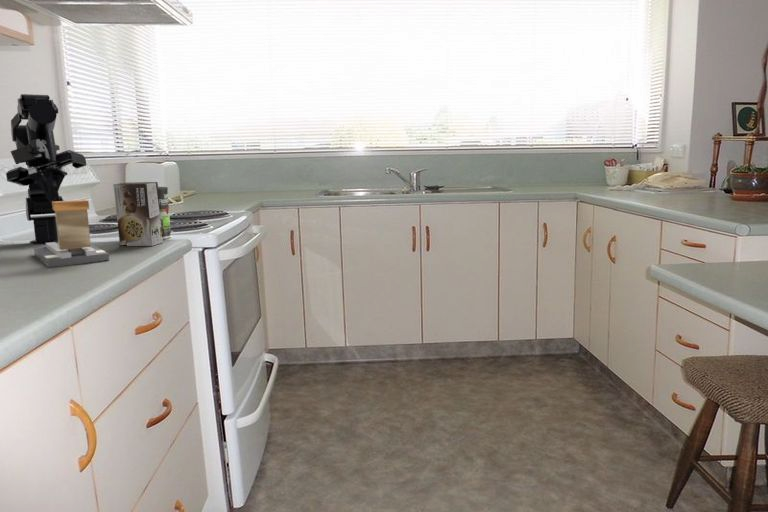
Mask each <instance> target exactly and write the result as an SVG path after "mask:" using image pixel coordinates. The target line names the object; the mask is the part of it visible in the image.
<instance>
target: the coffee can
mask: <svg viewBox="0 0 768 512" xmlns="http://www.w3.org/2000/svg"><path fill="white" fill-rule="evenodd" d="M168 190H169V189H168V186H158V193H159V205H160V216H161V228H162V239H163V240H166V239H171V238H172V234H171V233H172V232H171V222H170V221H171V219H170V218H171V217H170V208H169V207H170V205H169V196H168V195H169V194H168V193H169V192H168Z"/></svg>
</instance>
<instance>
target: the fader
mask: <svg viewBox="0 0 768 512" xmlns="http://www.w3.org/2000/svg"><path fill="white" fill-rule="evenodd" d="M52 208H53V210H54V211H55V214H54V215H55V217H56V226H57V235H58V241H57V244H58V245H59V249H60V250H65V249H68V251H69V252H70V253H71V255H72V254H81V253H83V249H82V248H85V247H91V244H92V243H91V234H90V224H89V223H90V222H89V214H88V212H89V211H88V210H89V209H90V202H89V200H87V199H79V200H76V199H75V200H64V201H56V202H52Z"/></svg>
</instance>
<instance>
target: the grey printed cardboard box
mask: <svg viewBox="0 0 768 512" xmlns="http://www.w3.org/2000/svg"><path fill="white" fill-rule="evenodd" d="M112 186H113V192H114V201H115V210H116V211H115V212H116V221H117V228H118V229H117V231H118V241H119V246H120V245H127V246H126V247H153V246H157V245H160V244H162V243H163V242H164V239H162V228H161V216H160V205H159V193H158V187H159V184H158V181H137V182H135V181H133V182H132V181H130V182H120V183H119V182H118V183H113V185H112Z"/></svg>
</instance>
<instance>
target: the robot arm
mask: <svg viewBox="0 0 768 512" xmlns="http://www.w3.org/2000/svg"><path fill="white" fill-rule="evenodd" d="M16 107H17V108H16V109H17V113H16V114H14V116H13V118H12V119H11V120H10V129H11V130H10V132H11V133H10V134H11V140H12V142H15V143H14V144H15V146H16V148H15V149H13V150H10V153H11V156H12V158H13V161H14V163H15V164H16V165H20V164H23V163H25V165H26V167H27V168H26V167H23V166H22V167H21V166H17V167H15V168H13V169H10V170H7V172H6V173H5V175H6V182H9V183H12V184H16V185H19V186H28V189H27V197H25V214H26V220H27V221H29V222H30V221H33V230H34V240H30V241H29V243H30V244H43V243H45V244H46V243H51V242H55V243H58V235H57V226H56V217H55V211H54V210H53V208H52V202H56V201H65V200H64V199H63V197H62V195H60V193H59V190H60V187H61V185H62V183H63V181H64V179H65V177H66V176H68V171H66V170H65V168H66V167H67V166H68V165H71V164H72V165H71V166H72V167H73V168H75V169H80V168H83V167H86V166H87V159H86V157H85V156H84V155H83V154H81V153H79V152H76V151H74V150H71V149H68V150H65V151H61V152H59V153H58V152H57V151H60V149H61V148H60V145H58V144H56V140H55V134H54V130H55V126H56V120H57V114H59V107H58V106H57V105H56V103H54V99H50V96H49V94H27V93H23V94H22V93H21V94H20V96H19V98H17V106H16ZM22 120H23V121H24V120H27V122H26V124H23V125H22V124H21V123H22ZM32 215H33V216H32Z"/></svg>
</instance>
